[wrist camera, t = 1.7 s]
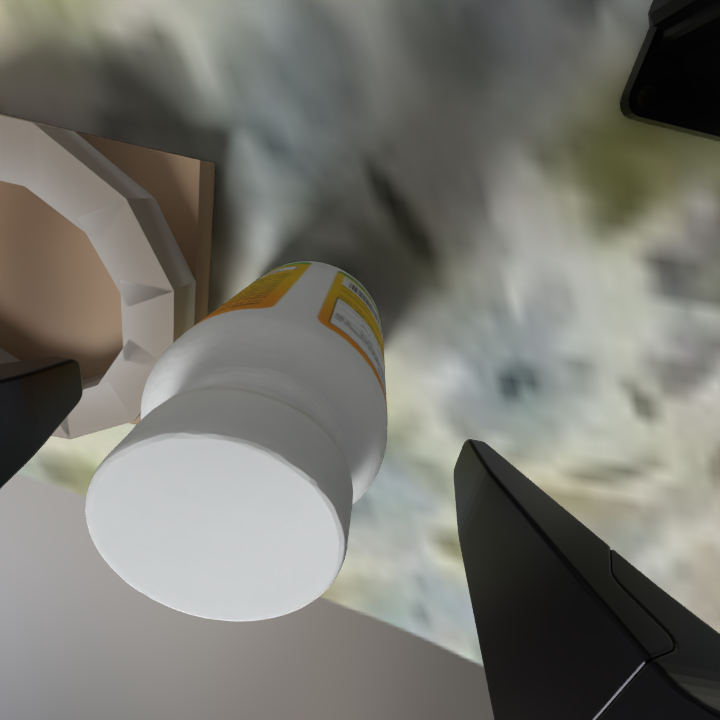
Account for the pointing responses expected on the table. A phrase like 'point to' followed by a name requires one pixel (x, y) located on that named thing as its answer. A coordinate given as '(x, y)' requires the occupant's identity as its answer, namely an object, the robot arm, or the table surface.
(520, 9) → the table surface
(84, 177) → the collar block
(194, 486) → the supplement bottle
